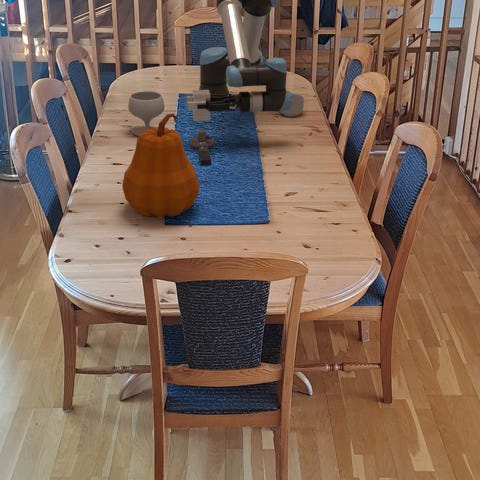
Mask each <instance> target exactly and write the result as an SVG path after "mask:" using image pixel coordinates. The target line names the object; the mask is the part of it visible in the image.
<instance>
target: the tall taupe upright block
mask: <svg viewBox="0 0 480 480" xmlns="http://www.w3.org/2000/svg"><path fill="white" fill-rule="evenodd" d="M192 97H193V102H206V101H208V102H210V92H209V90H199V89H192ZM192 118H193V122H211V112H209V111H208V110H206V109H204V110H192Z"/></svg>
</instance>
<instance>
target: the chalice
mask: <svg viewBox="0 0 480 480" xmlns="http://www.w3.org/2000/svg"><path fill="white" fill-rule="evenodd" d="M127 104H128V107H127V108H128V111H129V112H130V114H131V115H132V116H134V117H136V118H138V119H140V120H142V121H143V122H144V126H139V127H135V128H134V129H132V130H131V133H132V135H134V136H137V137H139V135H140V134H142V132H143V131H144V130H147V129H150V130H152V129H153V128H155V127H156V126H152V125H150V123H151V122H152V120H153V119H155V118H157V117H159V116H161V115H162V114H163V113H164V111H165V102H164V97H163V96H162V94H160V93H159V92H156V91H137V92H134V93H132V94H131V95H130V97H129V99H128V103H127Z"/></svg>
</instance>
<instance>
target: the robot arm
mask: <svg viewBox="0 0 480 480" xmlns="http://www.w3.org/2000/svg"><path fill="white" fill-rule="evenodd" d="M215 1H216V5H215V6H216V11H217V13H218V14H219V15H220V18H221V24H222V28H223V29H222V30H223V33H224V39H225V45H226V47H224V46H221V47H220V46H216V47H209V48H206V49H204V50H202V51H201V53H200V55H199V56H200V57H199V70H200V71H199V77H200V78H199V89H198V90H209V92H210V102H208V101H206V102H193V96H186V105H187V110H188V111H193V110H204V109H206V110H208V111H209V112H210V113H211V112H235V111H236V109H237V108H238V111H239V113H249V112H251V113H254V112H255V113H256V114H258V113H259V112H278V113H279V112H280V111H288V110H290V108H291V105H292V96H291V93H292V92H291V91H290V90H287V89H286V87H287V73H288V71H287V69H288V67H287V61H286V59H284V58H282V57H269V58H267V59H266V61H265V64H264V57H263V53H262V51H261V50H260V48H259V46H260V41H261V39H262V34H263V30H264V24H265V21H266V20H265V19H266V17H267V16H268V15H269V14H270V13H271V10H272V8H277V6H278V5H279V0H215ZM242 10H244V13H243V14H244V15H243V18H242ZM261 86H262V87H264V86H265V90H255V91H254V90H253V91H250V92H249V91H239V92H238V96H234V95H232V93H230V91H229V89H228V88H229V87H231V88H232V87H234V88H242V87H243V88H244V87H261ZM280 113H281V112H280Z"/></svg>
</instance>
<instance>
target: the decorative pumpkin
mask: <svg viewBox="0 0 480 480" xmlns="http://www.w3.org/2000/svg"><path fill="white" fill-rule="evenodd" d="M170 118H173V121H174V123H177V119H178V117H177V116H176V114H174V113H168V114H166V115H165V116H163V118H162V119H161V120H160V121H159V123H158V126H154V127H155V128H153V129H152V130H150V129H147V130H144V131H143V132H142V134H140V135H139V136H137V139H136V144H135V150H134V154H133V157H132V159H131V162H130V164H129V166H128V167H127V169H126V170H125V172H124V176H123V179H122V185H121V186H122V191H123V195H124V198H125V201H127V202H128V204H129V205H130V206H131V207H132V208H133V209H134V210H137V212H138V213H139V214H140V215H143V216H146V217H148V218H149V217H152V216H153V217H154V216H155V217H157V218H158V219H161V218H163V217H165V216H167V217H170V216H173V217H176V215H177V216H178V215H180V214H182V212H185V211H187V210H189V209H190V208H191V206H192V205H193V204H194V203H195V201H196V200H197V198H198V196H199V192H200V187H201V186H200V182H199V179H198V175H197V172H196V170H195V167H194V165H193V164H192V163H191V161H190V160H189V159H188V156H187V155H186V151H185V148H184V144H183V140H182V138H181V135H180V134H179V132H178V131H177V130H175V129H173V128H168V127H166V125H167V124H168V121H169V120H170Z"/></svg>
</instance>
